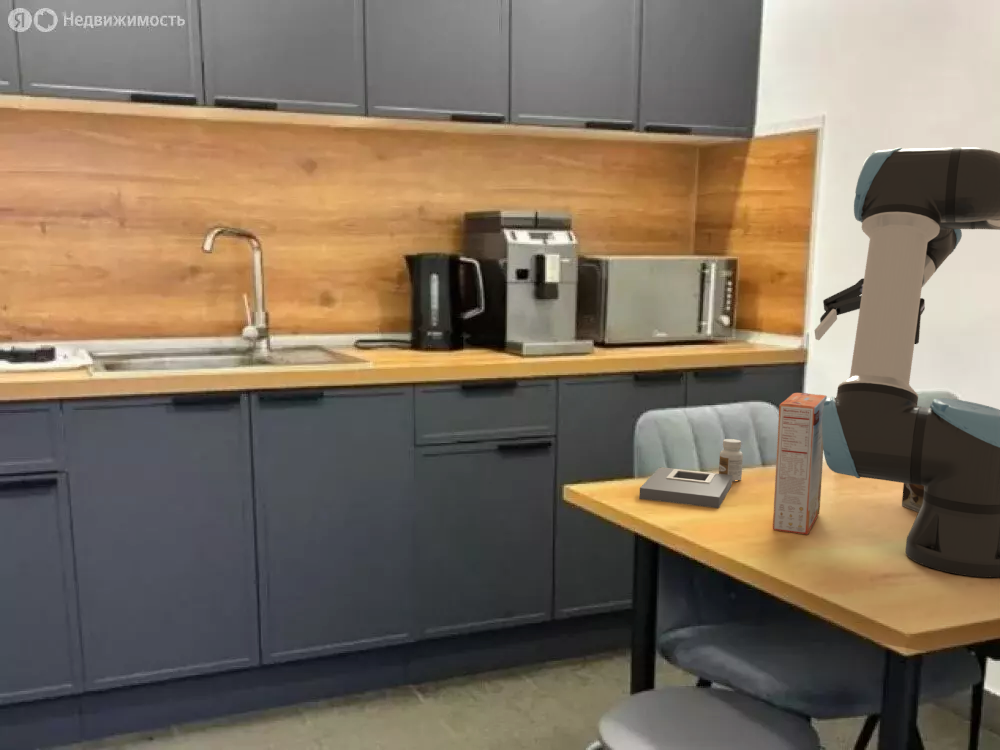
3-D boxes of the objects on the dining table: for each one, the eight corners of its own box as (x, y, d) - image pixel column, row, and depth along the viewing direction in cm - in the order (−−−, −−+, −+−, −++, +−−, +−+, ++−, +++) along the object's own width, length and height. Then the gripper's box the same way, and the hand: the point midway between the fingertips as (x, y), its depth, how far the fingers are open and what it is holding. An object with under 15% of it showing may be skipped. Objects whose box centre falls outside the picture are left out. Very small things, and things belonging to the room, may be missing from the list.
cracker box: (784, 510, 164) (792, 391, 161) (820, 515, 162) (829, 394, 159) (769, 530, 152) (777, 402, 149) (807, 536, 149) (817, 405, 146)
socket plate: (718, 508, 164) (719, 495, 164) (639, 498, 169) (639, 486, 168) (731, 485, 181) (732, 474, 180) (659, 477, 185) (659, 466, 185)
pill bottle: (715, 476, 188) (717, 438, 186) (736, 476, 188) (738, 438, 187) (722, 481, 183) (725, 442, 182) (744, 481, 184) (747, 442, 183)
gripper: (966, 309, 185) (908, 383, 179) (851, 271, 201) (794, 337, 195) (967, 283, 180) (907, 358, 173) (849, 245, 196) (790, 313, 190)
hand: (847, 347), depth 184 cm, fingers open, 13 cm apart
